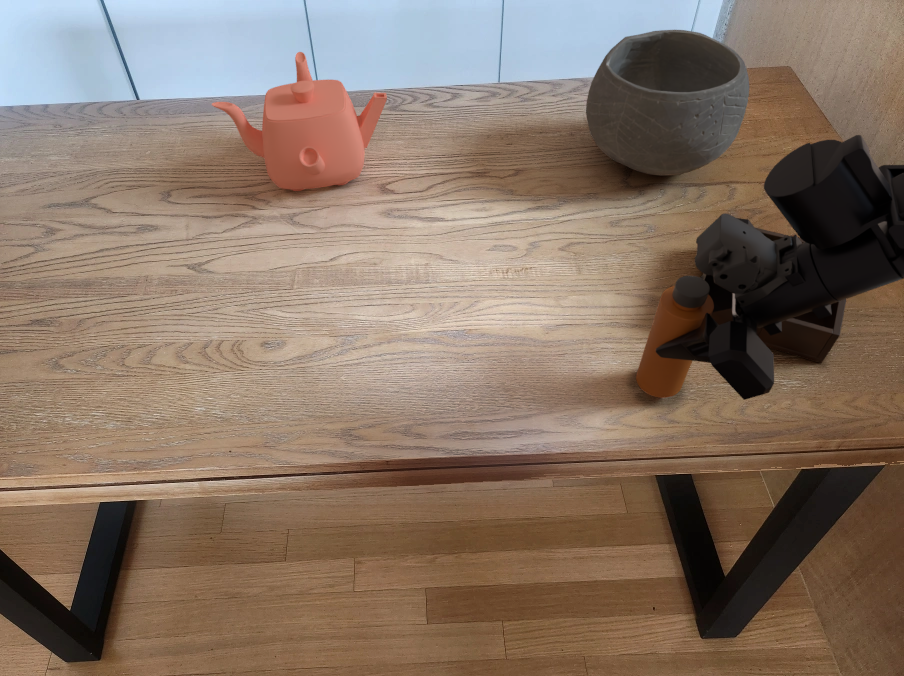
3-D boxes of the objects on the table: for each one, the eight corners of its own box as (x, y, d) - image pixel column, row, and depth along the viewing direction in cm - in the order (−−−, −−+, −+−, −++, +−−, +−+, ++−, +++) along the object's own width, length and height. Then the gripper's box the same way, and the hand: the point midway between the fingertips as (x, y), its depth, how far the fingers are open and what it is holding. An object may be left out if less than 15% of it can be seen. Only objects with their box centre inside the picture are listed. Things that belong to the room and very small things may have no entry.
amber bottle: (686, 371, 73) (725, 277, 62) (675, 403, 70) (713, 310, 59) (642, 358, 74) (672, 263, 63) (630, 388, 72) (659, 295, 61)
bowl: (744, 198, 92) (785, 95, 81) (591, 206, 93) (610, 105, 82) (701, 117, 105) (731, 18, 94) (568, 124, 107) (581, 28, 95)
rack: (837, 279, 81) (855, 250, 78) (821, 363, 73) (840, 335, 70) (713, 248, 86) (723, 219, 83) (685, 323, 78) (696, 295, 75)
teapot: (234, 182, 103) (208, 98, 92) (314, 126, 111) (298, 43, 101) (322, 222, 95) (303, 134, 84) (399, 159, 104) (392, 72, 93)
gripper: (775, 140, 58) (623, 224, 70) (779, 283, 47) (598, 355, 59) (836, 225, 62) (683, 291, 74) (852, 374, 52) (670, 424, 63)
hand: (660, 334), depth 67 cm, fingers closed on amber bottle, 5 cm apart
